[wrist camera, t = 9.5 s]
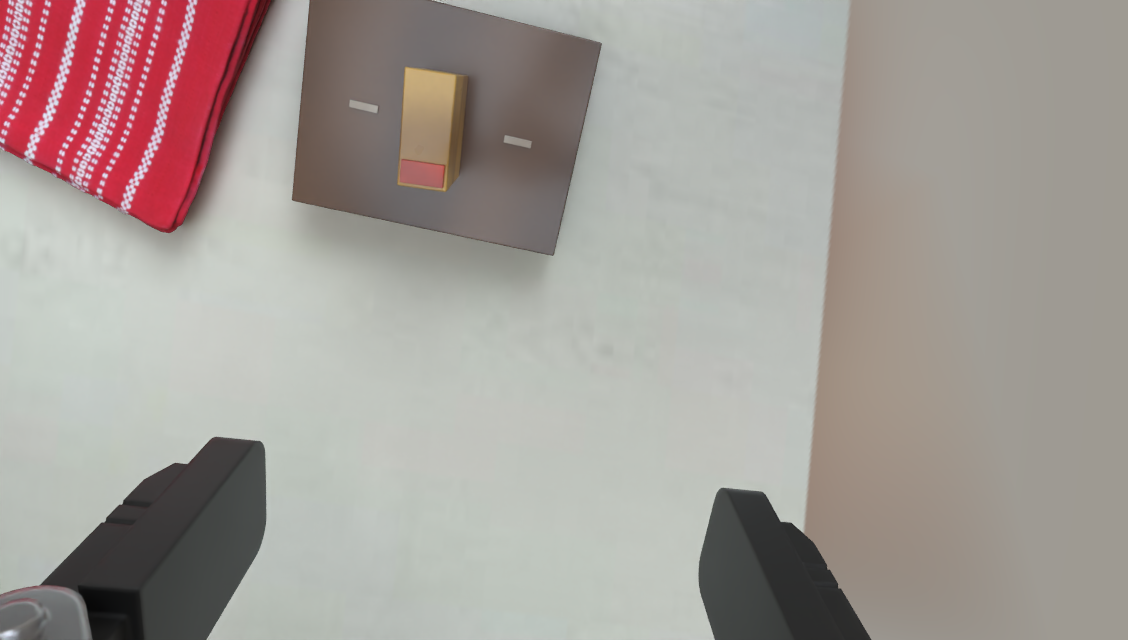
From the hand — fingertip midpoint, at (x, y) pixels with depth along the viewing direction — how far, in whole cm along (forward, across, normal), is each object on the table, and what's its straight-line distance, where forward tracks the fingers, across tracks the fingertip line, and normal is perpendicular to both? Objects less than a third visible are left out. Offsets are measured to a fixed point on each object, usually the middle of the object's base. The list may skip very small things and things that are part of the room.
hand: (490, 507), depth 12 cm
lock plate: (+28, +5, -4) cm, 29 cm away
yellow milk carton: (+25, +5, -4) cm, 26 cm away
